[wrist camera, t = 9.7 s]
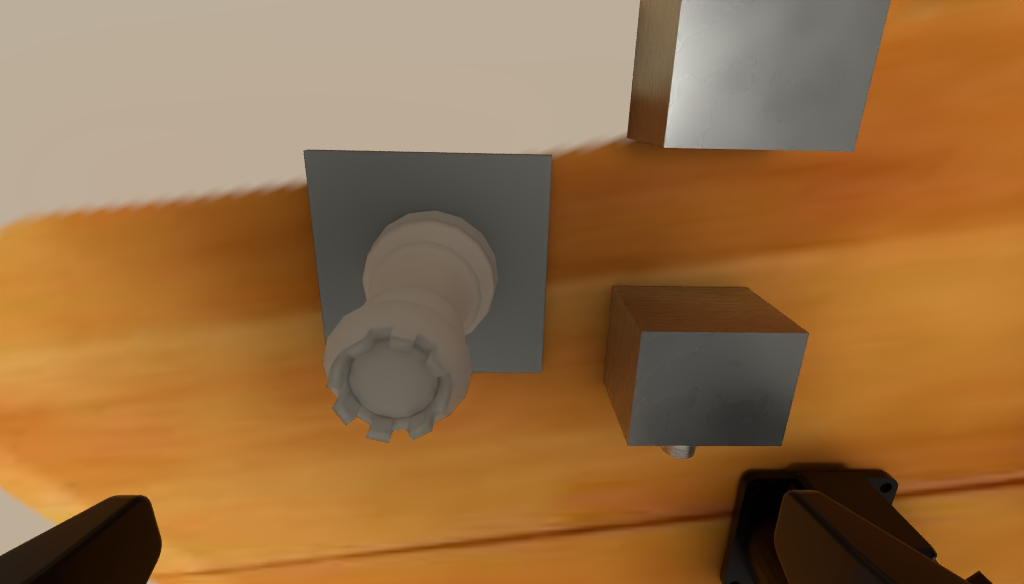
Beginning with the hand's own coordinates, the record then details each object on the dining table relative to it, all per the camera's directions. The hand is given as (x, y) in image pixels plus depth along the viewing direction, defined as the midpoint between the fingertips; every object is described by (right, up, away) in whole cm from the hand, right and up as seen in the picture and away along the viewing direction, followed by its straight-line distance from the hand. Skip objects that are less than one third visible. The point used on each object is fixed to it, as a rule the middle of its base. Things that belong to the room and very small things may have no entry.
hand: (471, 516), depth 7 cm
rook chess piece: (-2, +4, +11) cm, 12 cm away
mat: (-2, +4, +11) cm, 12 cm away
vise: (+7, +6, +11) cm, 14 cm away
